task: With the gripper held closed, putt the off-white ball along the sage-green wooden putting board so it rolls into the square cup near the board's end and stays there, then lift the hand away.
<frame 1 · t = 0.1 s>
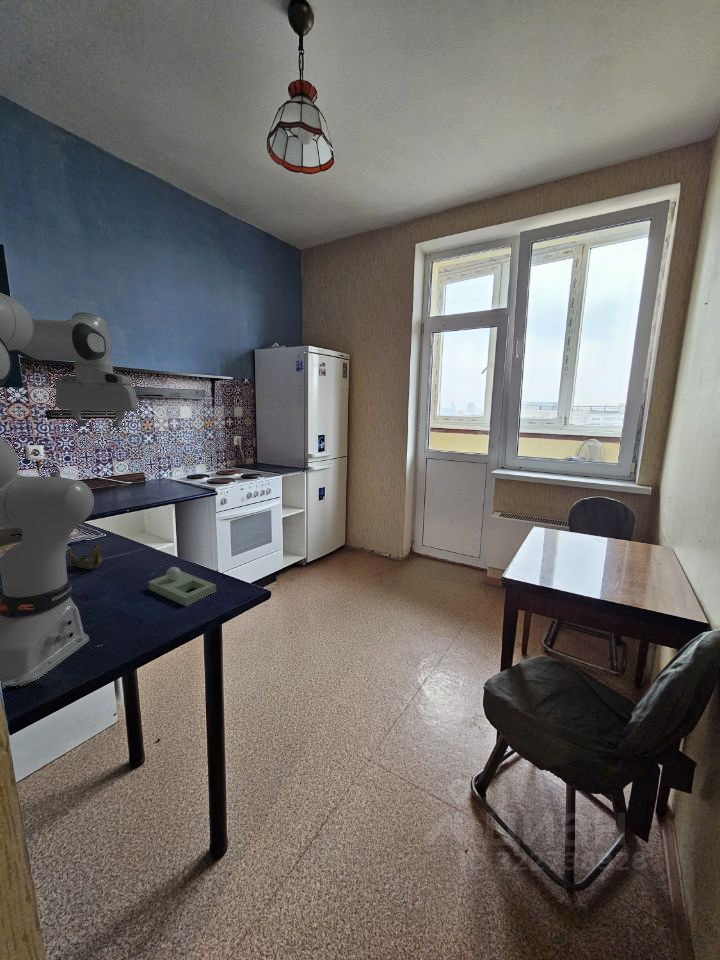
hand: (99, 427, 110), 48 cm above the table, tool pointing down, fingers open, 8 cm apart
putting board: (182, 590, 116), on the table
ball: (173, 573, 117), point 4 cm above the table, touching putting board
model tower: (63, 554, 141), on the table
jawbone: (91, 567, 131), on the table
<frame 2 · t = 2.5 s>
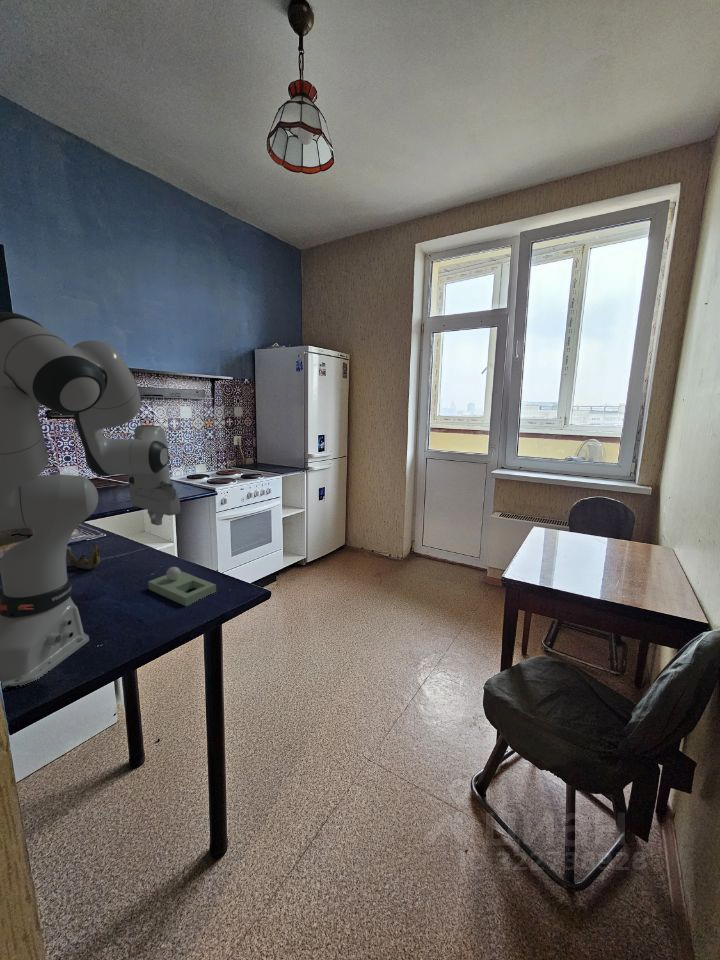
hand: (156, 524, 118), 19 cm above the table, tool pointing down, fingers closed
nothing on the table moved.
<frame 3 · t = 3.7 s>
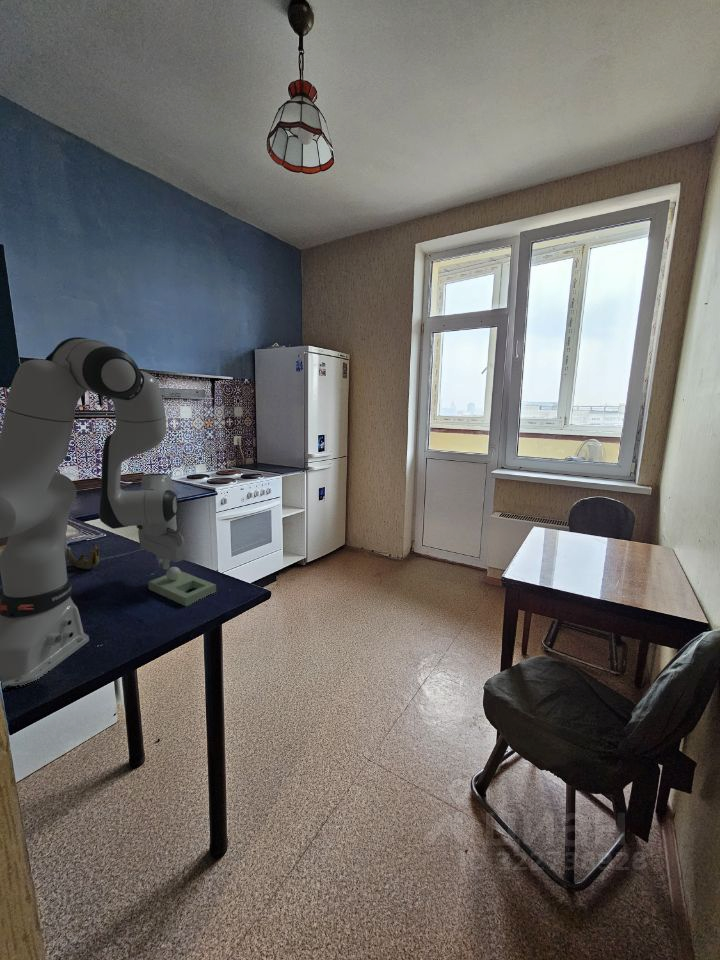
hand: (164, 567, 120), 5 cm above the table, tool pointing down, fingers closed
nothing on the table moved.
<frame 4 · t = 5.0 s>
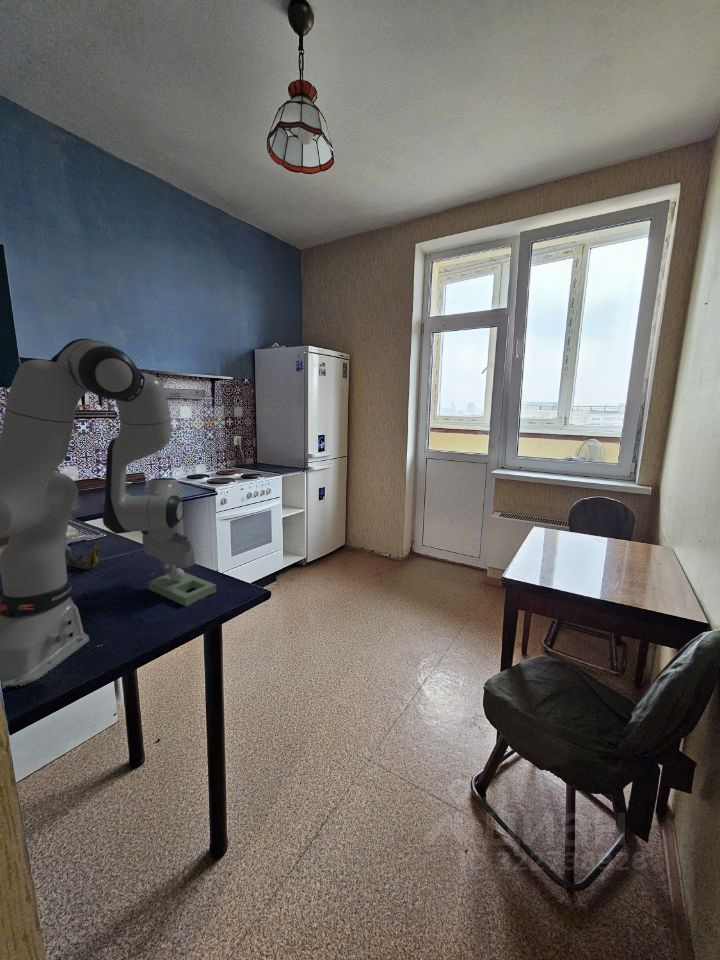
hand: (170, 573, 118), 4 cm above the table, tool pointing down, fingers closed
ball: (177, 574, 116), point 4 cm above the table, tilted 47°, touching putting board
everything else where it was.
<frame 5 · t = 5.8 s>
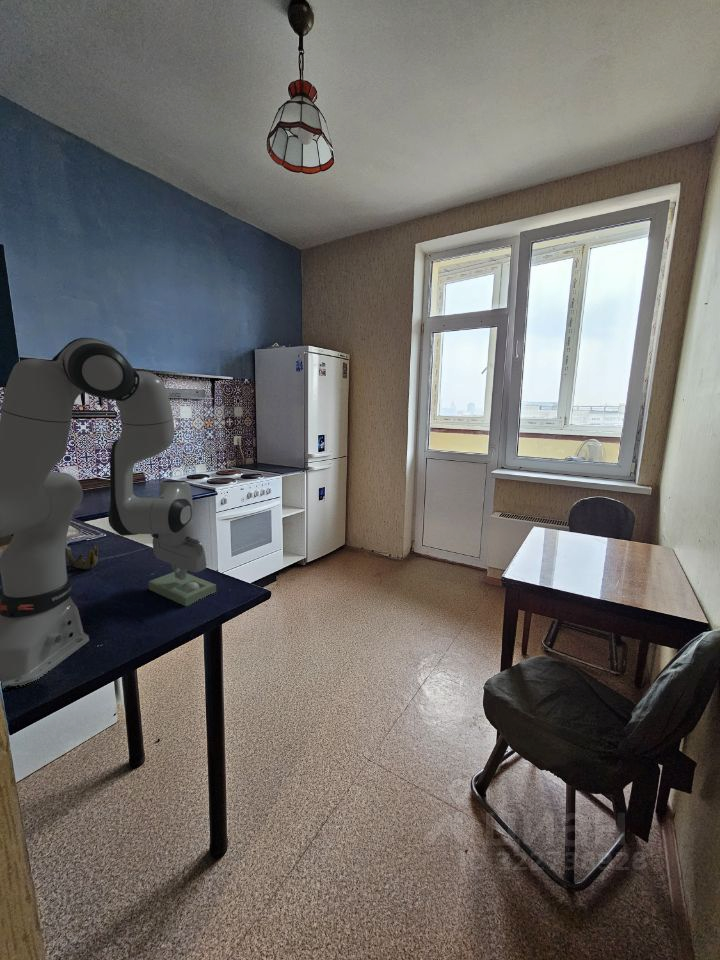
hand: (180, 578, 115), 4 cm above the table, tool pointing down, fingers closed
ball: (192, 588, 113), point 2 cm above the table, tilted 86°
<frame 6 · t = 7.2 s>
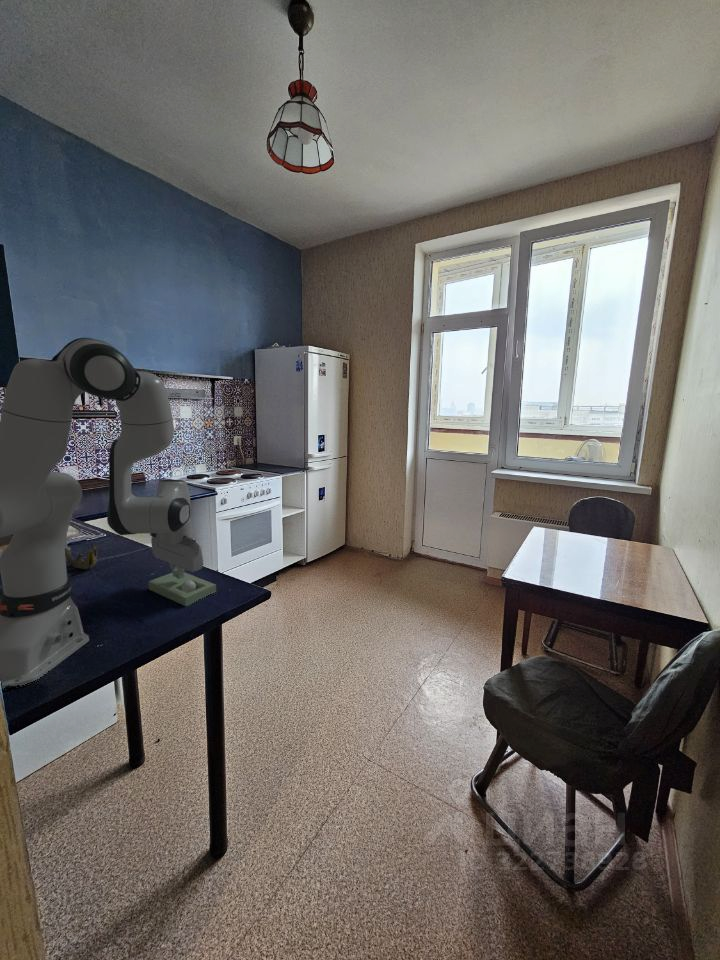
hand: (178, 577, 116), 4 cm above the table, tool pointing down, fingers closed
ball: (188, 587, 114), point 2 cm above the table, tilted 132°
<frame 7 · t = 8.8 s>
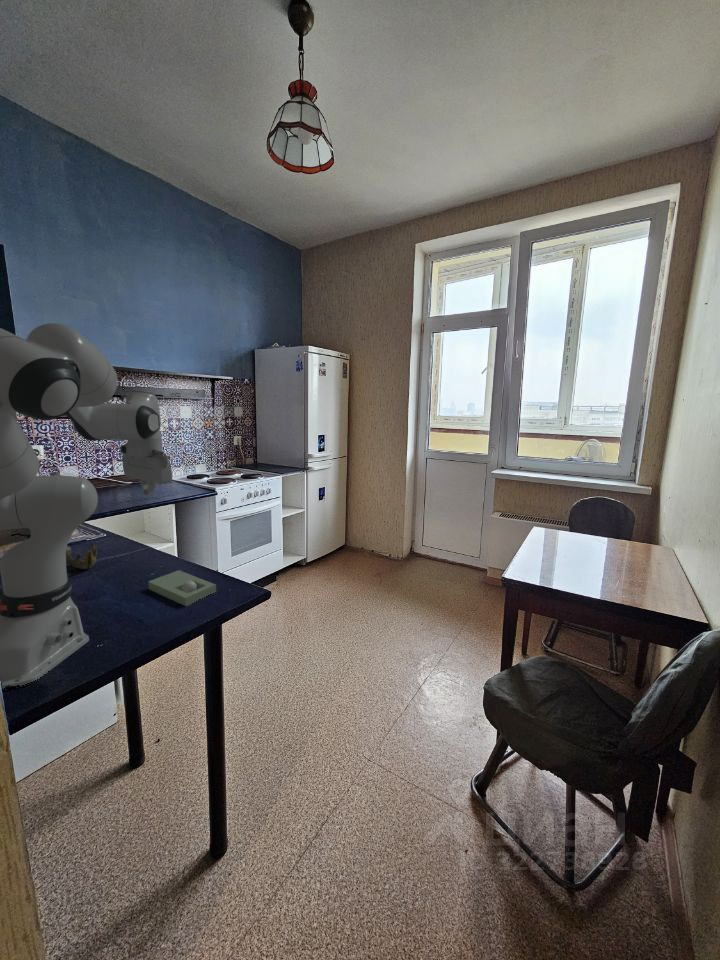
hand: (148, 494, 115), 28 cm above the table, tool pointing down, fingers closed
ball: (189, 587, 114), point 2 cm above the table, tilted 122°
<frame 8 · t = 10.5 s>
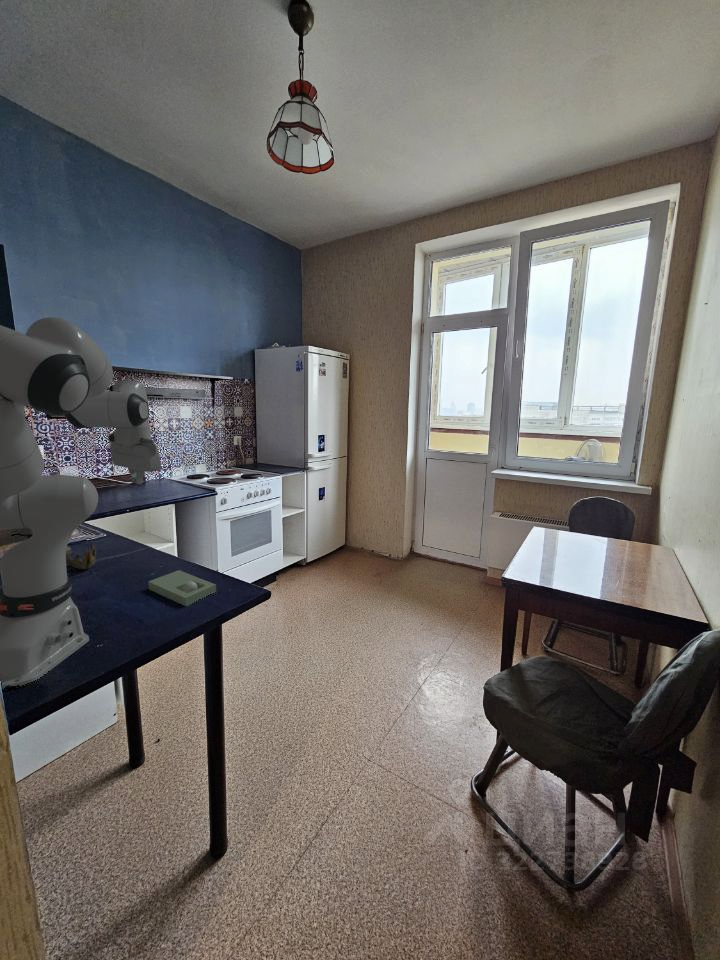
hand: (137, 483, 116), 31 cm above the table, tool pointing down, fingers closed
ball: (190, 587, 113), point 2 cm above the table, tilted 112°
at the end: ball 0.3 cm from the target spot on the putting board, point 2.0 cm above the putting board's base; ball point 2.0 cm above the table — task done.
